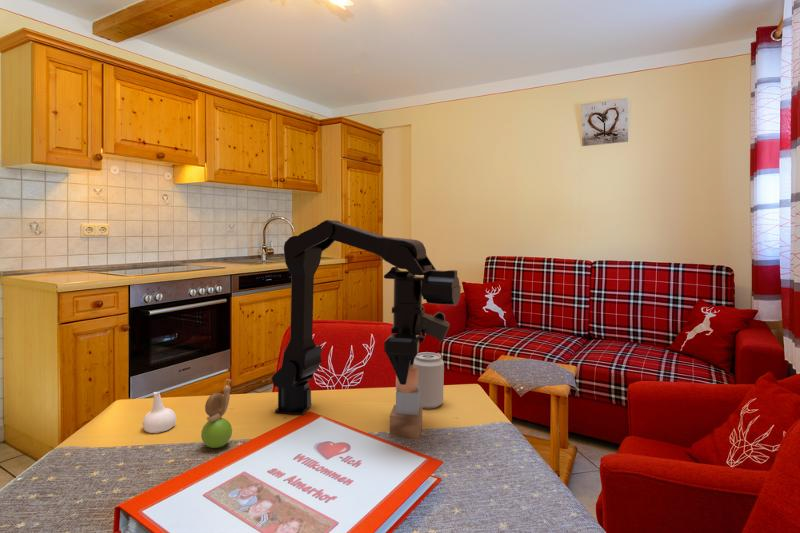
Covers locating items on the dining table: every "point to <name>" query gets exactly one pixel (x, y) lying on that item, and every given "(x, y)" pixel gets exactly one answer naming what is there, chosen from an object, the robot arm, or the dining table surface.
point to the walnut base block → (405, 424)
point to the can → (430, 379)
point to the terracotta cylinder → (409, 381)
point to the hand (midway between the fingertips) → (406, 377)
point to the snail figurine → (217, 420)
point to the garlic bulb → (159, 417)
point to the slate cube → (408, 402)
